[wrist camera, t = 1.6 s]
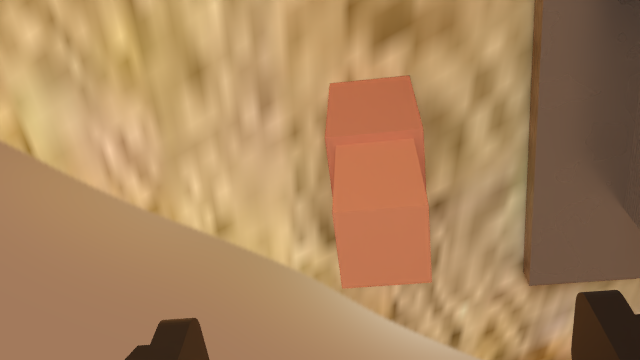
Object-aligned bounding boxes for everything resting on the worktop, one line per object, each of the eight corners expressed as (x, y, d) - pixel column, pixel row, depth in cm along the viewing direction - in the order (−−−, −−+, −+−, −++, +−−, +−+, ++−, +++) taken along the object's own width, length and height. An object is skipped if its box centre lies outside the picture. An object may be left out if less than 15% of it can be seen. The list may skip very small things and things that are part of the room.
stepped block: (329, 83, 23) (319, 203, 15) (409, 75, 23) (440, 193, 15) (338, 154, 25) (332, 297, 17) (413, 147, 24) (443, 290, 16)
